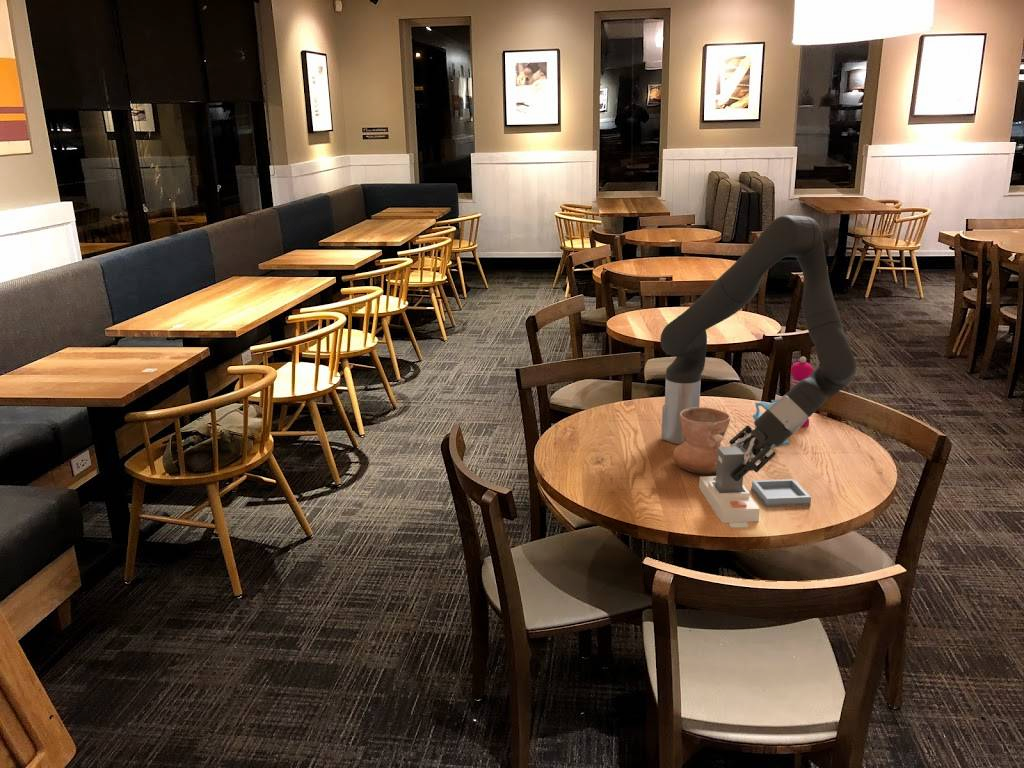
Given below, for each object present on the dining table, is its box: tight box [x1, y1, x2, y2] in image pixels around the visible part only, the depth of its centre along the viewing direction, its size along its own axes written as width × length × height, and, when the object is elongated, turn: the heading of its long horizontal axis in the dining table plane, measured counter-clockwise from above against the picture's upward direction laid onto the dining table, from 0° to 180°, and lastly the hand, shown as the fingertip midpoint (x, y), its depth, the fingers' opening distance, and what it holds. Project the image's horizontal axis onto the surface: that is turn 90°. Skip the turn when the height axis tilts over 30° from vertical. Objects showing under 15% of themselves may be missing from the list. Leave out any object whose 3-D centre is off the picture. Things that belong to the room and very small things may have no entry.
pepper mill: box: [790, 356, 814, 429], centre depth 230 cm, size 7×7×20 cm
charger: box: [715, 446, 746, 493], centre depth 182 cm, size 5×5×10 cm
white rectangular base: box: [698, 475, 761, 524], centre depth 183 cm, size 18×8×4 cm, turn 3°
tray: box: [751, 478, 812, 508], centre depth 187 cm, size 10×10×2 cm
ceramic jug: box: [672, 406, 731, 475], centre depth 203 cm, size 18×14×14 cm
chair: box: [752, 399, 790, 448], centre depth 219 cm, size 8×8×12 cm
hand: (727, 470), depth 182 cm, fingers open, 8 cm apart
